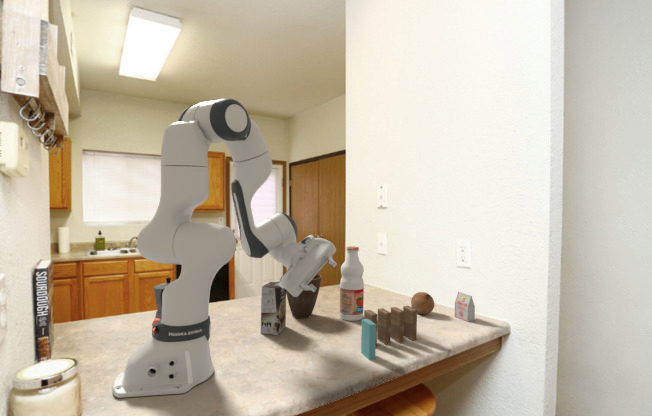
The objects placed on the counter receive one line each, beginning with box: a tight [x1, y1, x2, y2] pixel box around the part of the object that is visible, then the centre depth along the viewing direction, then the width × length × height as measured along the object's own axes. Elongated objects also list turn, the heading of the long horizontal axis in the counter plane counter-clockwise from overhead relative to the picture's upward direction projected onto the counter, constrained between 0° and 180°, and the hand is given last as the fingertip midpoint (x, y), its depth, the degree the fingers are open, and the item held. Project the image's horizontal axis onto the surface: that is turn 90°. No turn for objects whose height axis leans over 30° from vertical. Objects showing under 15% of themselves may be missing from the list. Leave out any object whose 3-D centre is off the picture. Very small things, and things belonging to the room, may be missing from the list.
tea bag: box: [454, 291, 476, 323], centre depth 134 cm, size 4×7×10 cm, turn 22°
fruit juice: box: [339, 246, 365, 322], centre depth 133 cm, size 9×9×28 cm
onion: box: [410, 291, 435, 315], centre depth 140 cm, size 10×9×10 cm
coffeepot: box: [153, 276, 172, 320], centre depth 115 cm, size 15×9×18 cm, turn 14°
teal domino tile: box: [360, 318, 376, 361], centre depth 98 cm, size 2×5×10 cm, turn 21°
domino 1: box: [363, 309, 378, 347], centre depth 107 cm, size 2×5×10 cm, turn 21°
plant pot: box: [286, 273, 322, 319], centre depth 134 cm, size 15×15×16 cm
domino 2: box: [377, 308, 392, 345], centre depth 109 cm, size 2×5×10 cm, turn 21°
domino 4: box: [402, 305, 418, 342], centre depth 113 cm, size 2×5×10 cm, turn 21°
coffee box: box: [260, 281, 287, 336], centre depth 118 cm, size 9×6×16 cm
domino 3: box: [390, 306, 405, 343], centre depth 111 cm, size 2×5×10 cm, turn 21°
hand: (324, 277), depth 99 cm, fingers open, 8 cm apart
